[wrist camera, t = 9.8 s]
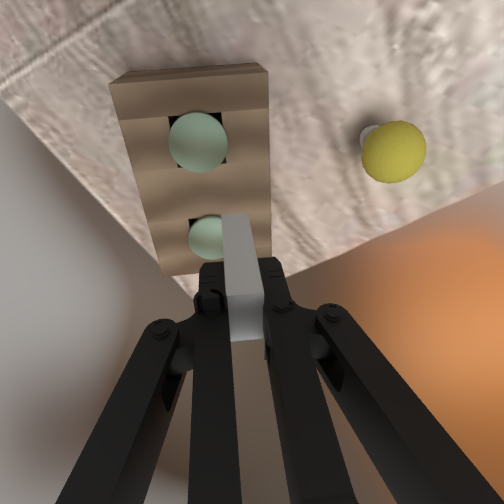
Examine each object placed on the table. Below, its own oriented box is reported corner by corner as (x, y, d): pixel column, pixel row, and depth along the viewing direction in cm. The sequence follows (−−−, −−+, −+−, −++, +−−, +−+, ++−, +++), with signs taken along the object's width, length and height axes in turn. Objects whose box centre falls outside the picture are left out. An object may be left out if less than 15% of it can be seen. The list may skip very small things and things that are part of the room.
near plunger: (170, 98, 35) (162, 116, 29) (221, 94, 36) (224, 111, 29) (180, 149, 39) (174, 175, 32) (226, 145, 39) (230, 170, 32)
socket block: (127, 72, 34) (108, 84, 28) (257, 62, 35) (267, 72, 29) (169, 242, 47) (162, 277, 41) (263, 232, 48) (272, 265, 42)
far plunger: (188, 190, 42) (184, 221, 35) (230, 186, 42) (234, 216, 36) (194, 227, 45) (192, 261, 39) (234, 223, 45) (238, 256, 39)
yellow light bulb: (332, 138, 41) (362, 167, 33) (375, 95, 38) (419, 115, 30) (362, 170, 44) (396, 204, 36) (404, 132, 42) (451, 160, 33)
